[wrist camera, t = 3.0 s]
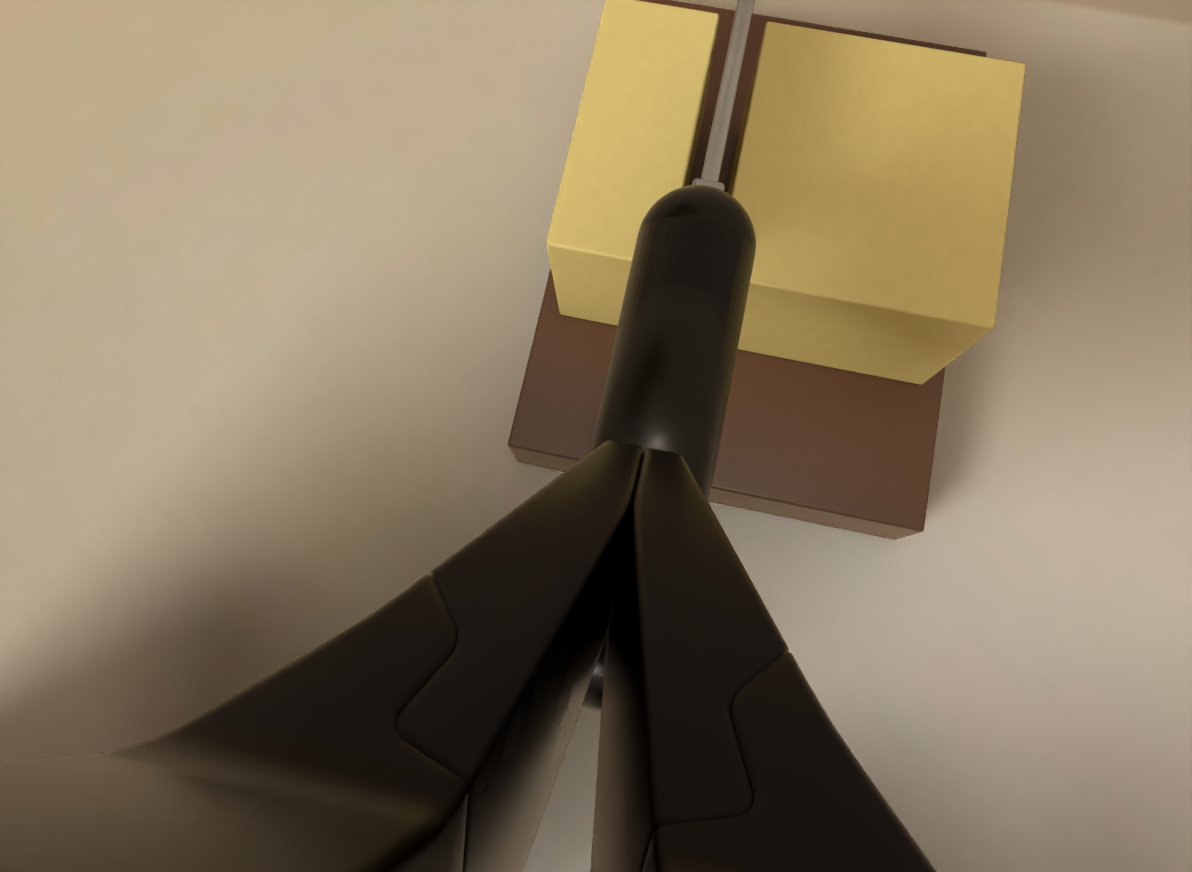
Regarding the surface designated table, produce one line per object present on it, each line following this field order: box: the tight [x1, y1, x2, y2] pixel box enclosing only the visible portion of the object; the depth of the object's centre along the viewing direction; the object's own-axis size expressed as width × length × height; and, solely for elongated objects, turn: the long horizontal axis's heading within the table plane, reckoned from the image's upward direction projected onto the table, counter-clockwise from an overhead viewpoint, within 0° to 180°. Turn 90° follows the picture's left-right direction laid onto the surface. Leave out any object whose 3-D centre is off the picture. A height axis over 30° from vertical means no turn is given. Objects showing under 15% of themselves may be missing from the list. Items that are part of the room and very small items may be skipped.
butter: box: [546, 0, 1026, 385], centre depth 19 cm, size 6×9×4 cm, turn 78°
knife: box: [582, 0, 756, 713], centre depth 14 cm, size 14×2×5 cm, turn 168°
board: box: [508, 0, 986, 539], centre depth 22 cm, size 13×10×2 cm
